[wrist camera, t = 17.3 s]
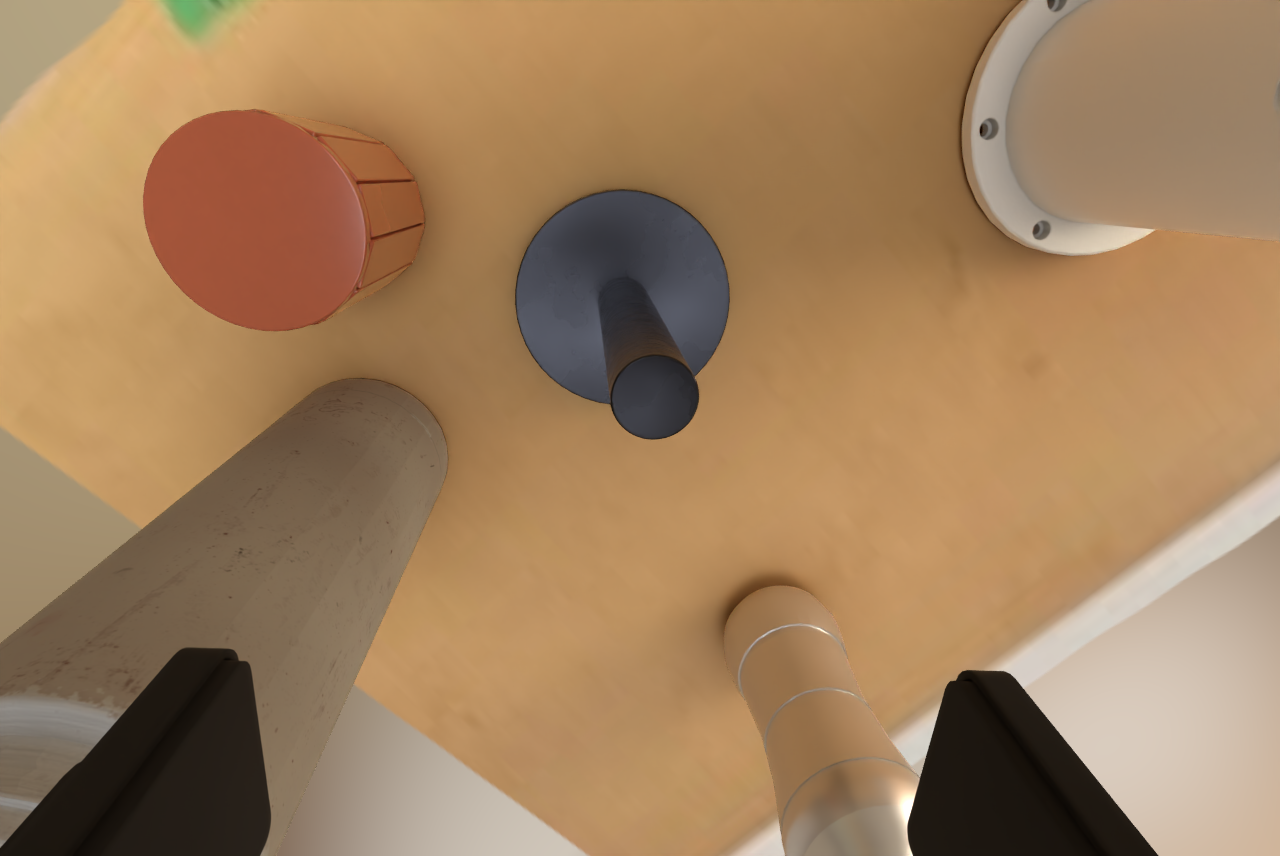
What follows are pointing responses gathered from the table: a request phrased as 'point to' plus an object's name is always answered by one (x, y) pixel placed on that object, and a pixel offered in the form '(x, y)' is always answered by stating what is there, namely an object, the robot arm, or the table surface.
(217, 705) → the robot arm
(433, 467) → the thermos bottle
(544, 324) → the bowl
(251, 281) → the cup
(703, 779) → the table surface
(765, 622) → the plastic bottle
